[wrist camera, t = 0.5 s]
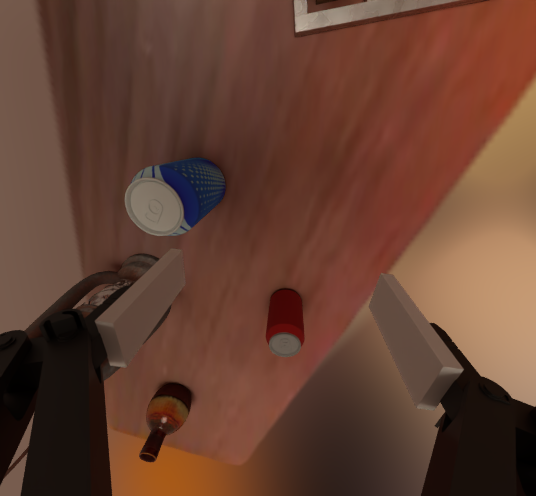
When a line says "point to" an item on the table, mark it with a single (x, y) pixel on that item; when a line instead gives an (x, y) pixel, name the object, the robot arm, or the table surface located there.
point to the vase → (165, 417)
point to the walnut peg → (323, 1)
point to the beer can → (174, 195)
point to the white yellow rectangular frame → (363, 13)
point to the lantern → (124, 277)
